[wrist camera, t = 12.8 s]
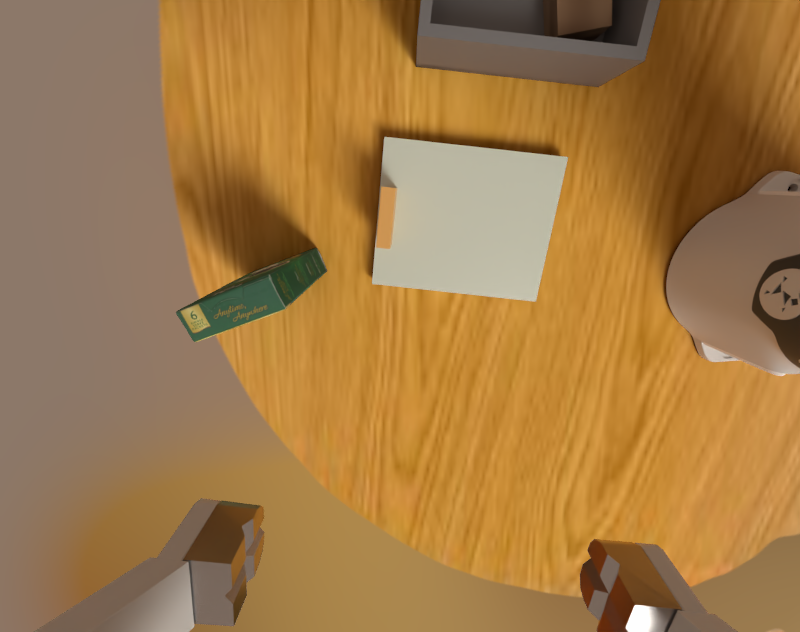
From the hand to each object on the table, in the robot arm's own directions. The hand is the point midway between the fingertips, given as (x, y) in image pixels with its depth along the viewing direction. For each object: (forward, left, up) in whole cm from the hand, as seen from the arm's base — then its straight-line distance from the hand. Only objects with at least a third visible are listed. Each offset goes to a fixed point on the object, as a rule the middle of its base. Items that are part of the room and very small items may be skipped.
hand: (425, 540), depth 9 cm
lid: (-4, -6, -31) cm, 32 cm away
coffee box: (+13, +1, -31) cm, 34 cm away
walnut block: (-10, -23, -30) cm, 39 cm away
